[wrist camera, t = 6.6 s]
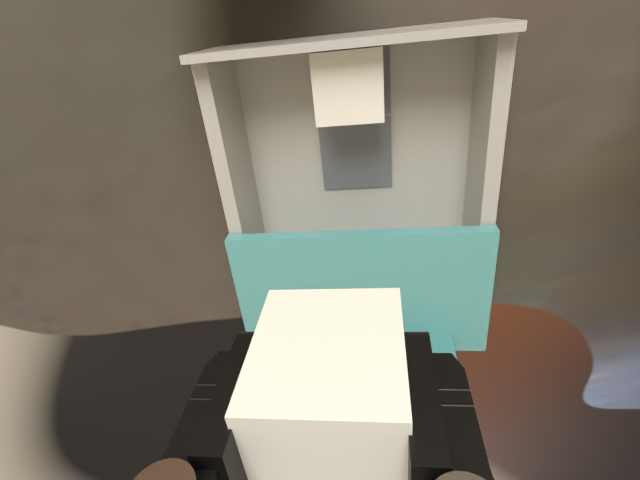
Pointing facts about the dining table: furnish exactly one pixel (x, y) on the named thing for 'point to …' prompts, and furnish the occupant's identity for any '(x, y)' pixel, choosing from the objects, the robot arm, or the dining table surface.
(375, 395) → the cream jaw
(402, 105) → the grey housing
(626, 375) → the dining table surface
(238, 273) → the teal lid
